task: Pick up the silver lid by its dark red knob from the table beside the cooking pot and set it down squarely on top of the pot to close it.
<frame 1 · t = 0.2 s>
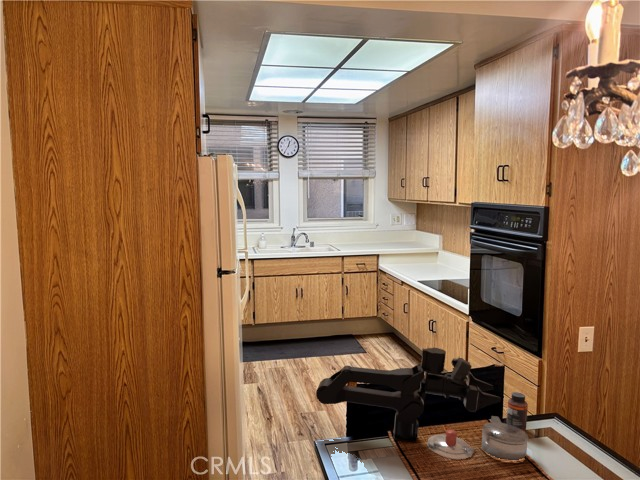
hand: (496, 393, 133), 16 cm above the table, tool horizontal, fingers open, 9 cm apart
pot: (503, 452, 132), on the table
lid: (450, 448, 133), on the table
supplement bottle: (515, 429, 147), on the table
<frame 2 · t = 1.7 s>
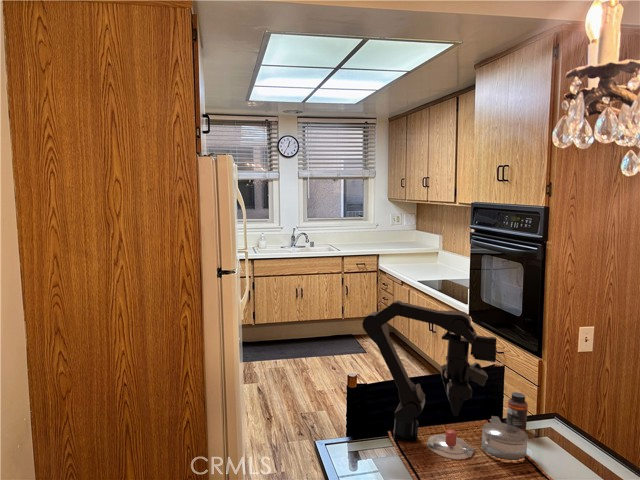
hand: (453, 409, 132), 11 cm above the table, tool pointing down, fingers open, 9 cm apart
nothing on the table moved.
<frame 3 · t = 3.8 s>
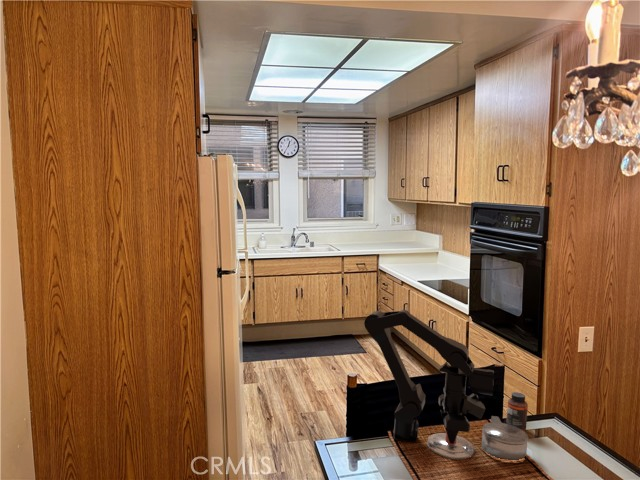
hand: (450, 440, 133), 2 cm above the table, tool pointing down, fingers closed on lid, 3 cm apart
lid: (450, 447, 133), on the table, touching gripper
everything else where it was.
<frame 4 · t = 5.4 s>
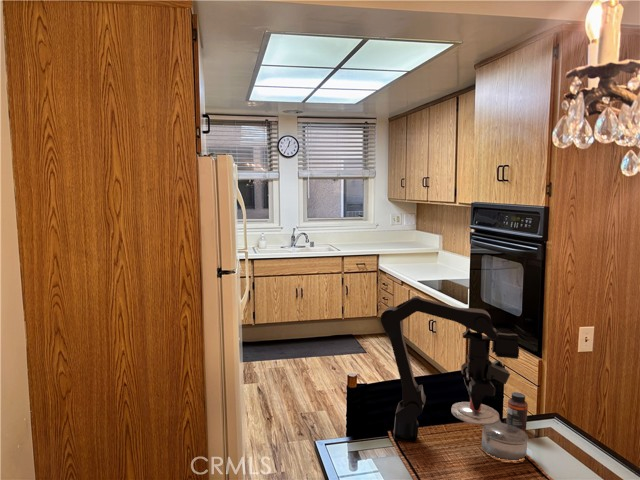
hand: (475, 407, 131), 12 cm above the table, tool pointing down, fingers closed on lid, 3 cm apart
lid: (474, 414, 131), point 10 cm above the table, touching gripper
everything else where it was.
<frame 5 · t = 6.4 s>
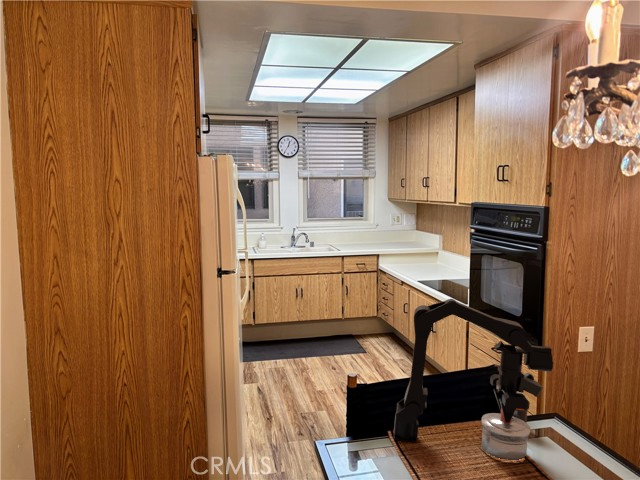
hand: (505, 419, 131), 10 cm above the table, tool pointing down, fingers closed on lid, 3 cm apart
lid: (505, 426, 131), point 8 cm above the table, touching gripper
everything else where it was.
when the fingers open (9 cm above the table, at t = 7.0 s): lid drops 1 cm, resting on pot.
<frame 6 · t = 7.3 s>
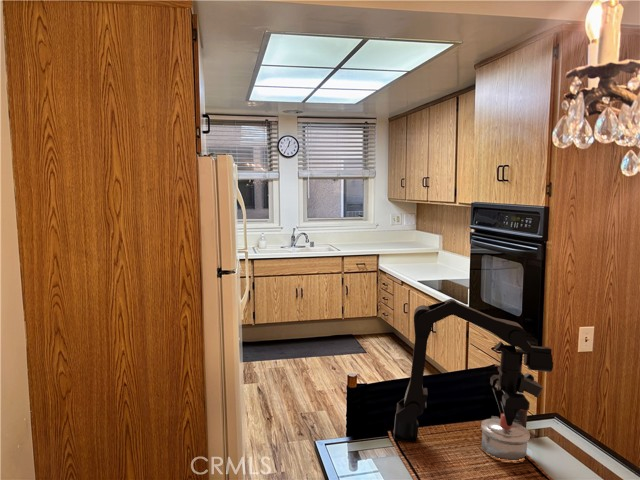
hand: (506, 420, 131), 9 cm above the table, tool pointing down, fingers open, 6 cm apart
lid: (504, 432, 131), point 6 cm above the table, touching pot
everything else where it was.
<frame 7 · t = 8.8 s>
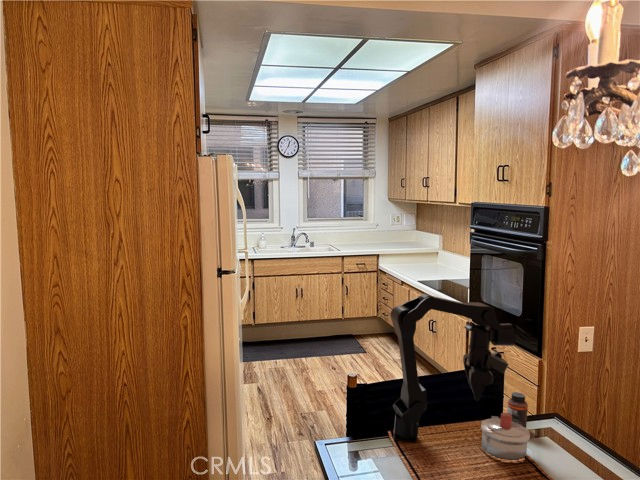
hand: (474, 394, 140), 13 cm above the table, tool pointing down, fingers open, 9 cm apart
nothing on the table moved.
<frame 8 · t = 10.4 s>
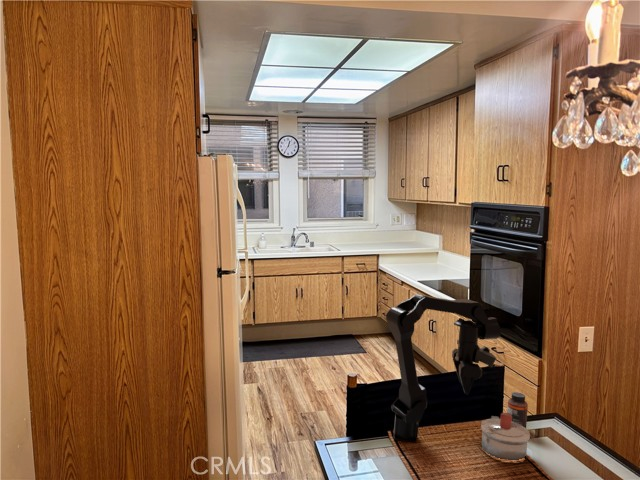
hand: (464, 388, 144), 13 cm above the table, tool pointing down, fingers open, 9 cm apart
nothing on the table moved.
at the end: lid 0.0 cm off-centre on the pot, point 6.0 cm above the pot's base; lid tilted 0°; the gripper is holding nothing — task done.
